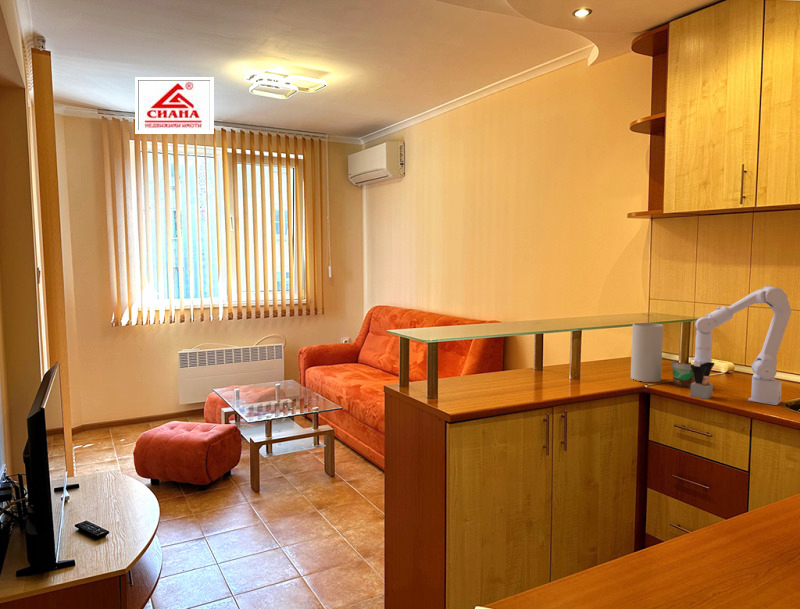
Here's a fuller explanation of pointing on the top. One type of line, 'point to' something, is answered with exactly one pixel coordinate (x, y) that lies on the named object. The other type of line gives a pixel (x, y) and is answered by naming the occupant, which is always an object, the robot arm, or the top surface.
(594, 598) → the top surface
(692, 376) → the food container
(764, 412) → the top surface
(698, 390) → the socket base
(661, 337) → the cylinder vase
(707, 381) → the terracotta cube
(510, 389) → the top surface
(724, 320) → the robot arm
